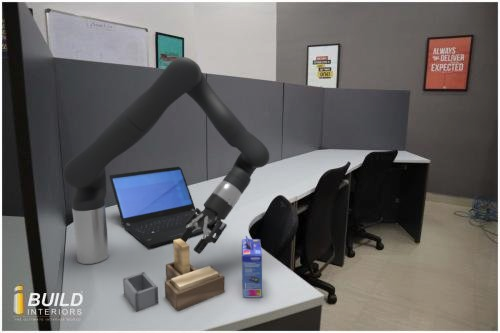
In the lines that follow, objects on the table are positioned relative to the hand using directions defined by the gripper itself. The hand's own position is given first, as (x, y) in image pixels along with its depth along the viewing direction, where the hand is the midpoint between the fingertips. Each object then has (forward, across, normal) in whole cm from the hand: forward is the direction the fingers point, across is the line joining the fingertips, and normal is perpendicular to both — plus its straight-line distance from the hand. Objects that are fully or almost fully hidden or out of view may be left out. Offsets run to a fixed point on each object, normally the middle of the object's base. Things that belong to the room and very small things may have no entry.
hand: (188, 246), depth 93 cm
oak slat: (+9, 0, +6) cm, 10 cm away
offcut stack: (+9, +7, +6) cm, 13 cm away
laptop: (-2, -44, +18) cm, 48 cm away
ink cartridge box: (-1, +14, +16) cm, 21 cm away
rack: (+9, +4, +6) cm, 11 cm away
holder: (+17, 0, -3) cm, 18 cm away
